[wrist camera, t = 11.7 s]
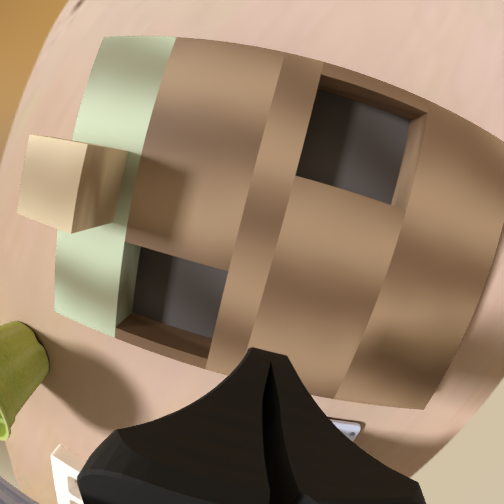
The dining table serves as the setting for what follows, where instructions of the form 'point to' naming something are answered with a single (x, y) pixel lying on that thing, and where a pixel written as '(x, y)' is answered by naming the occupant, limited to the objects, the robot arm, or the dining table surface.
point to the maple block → (70, 183)
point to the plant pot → (18, 371)
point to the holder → (66, 474)
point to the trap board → (283, 217)
